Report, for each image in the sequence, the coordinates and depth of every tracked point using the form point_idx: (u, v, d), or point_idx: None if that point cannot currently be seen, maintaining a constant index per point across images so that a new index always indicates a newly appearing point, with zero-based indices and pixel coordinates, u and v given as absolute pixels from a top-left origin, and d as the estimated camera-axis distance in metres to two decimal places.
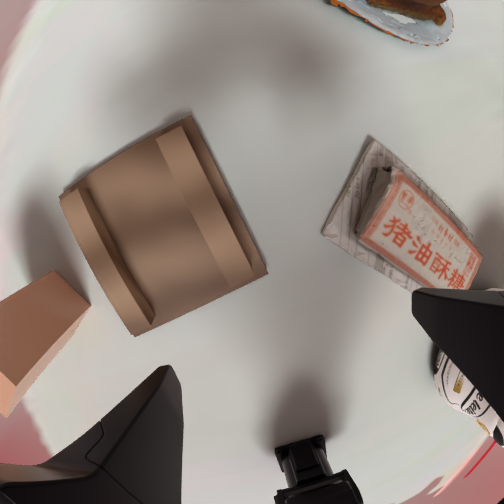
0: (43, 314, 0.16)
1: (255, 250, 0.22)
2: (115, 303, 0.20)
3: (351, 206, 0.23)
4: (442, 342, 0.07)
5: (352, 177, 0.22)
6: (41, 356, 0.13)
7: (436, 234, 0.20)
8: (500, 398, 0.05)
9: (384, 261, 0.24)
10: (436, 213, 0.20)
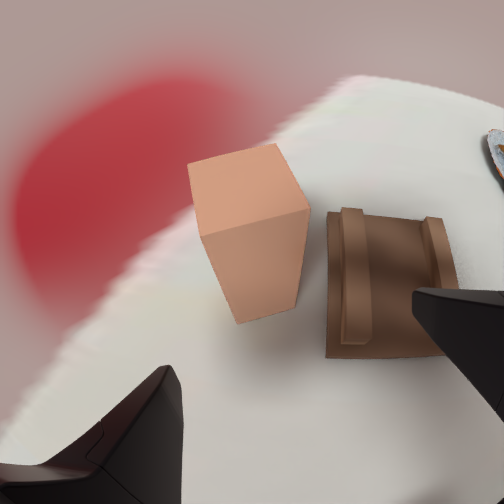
0: None
1: None
2: (350, 302, 0.20)
3: None
4: (442, 342, 0.07)
5: None
6: (303, 250, 0.15)
7: None
8: (500, 398, 0.05)
9: None
10: None
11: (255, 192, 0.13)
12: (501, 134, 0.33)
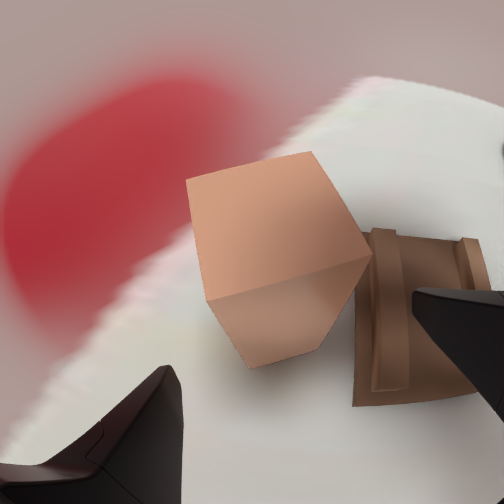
0: None
1: None
2: (386, 345, 0.15)
3: None
4: (442, 342, 0.07)
5: None
6: (345, 300, 0.11)
7: None
8: (500, 398, 0.05)
9: None
10: None
11: (290, 228, 0.09)
12: None
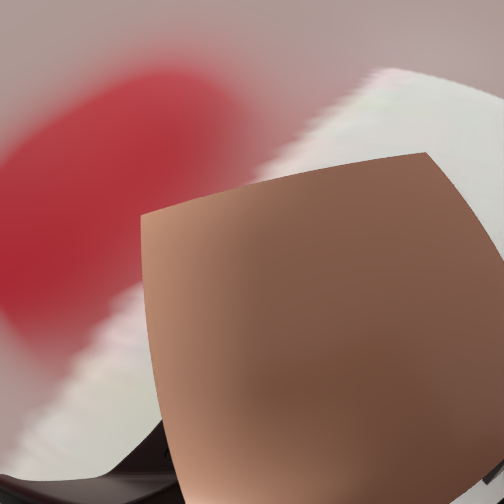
0: None
1: None
2: None
3: None
4: None
5: None
6: None
7: None
8: None
9: None
10: None
11: (438, 385, 0.02)
12: None
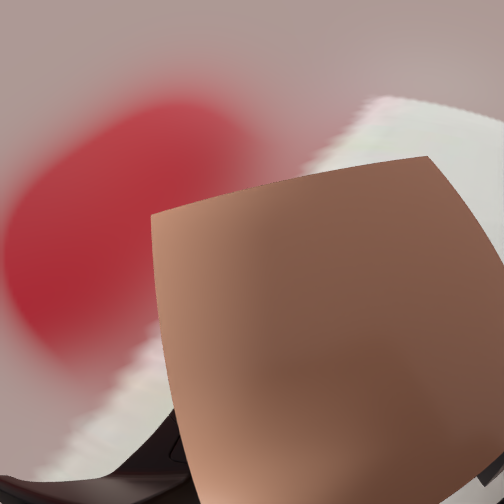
0: None
1: None
2: None
3: None
4: None
5: None
6: None
7: None
8: None
9: None
10: None
11: (440, 378, 0.02)
12: None
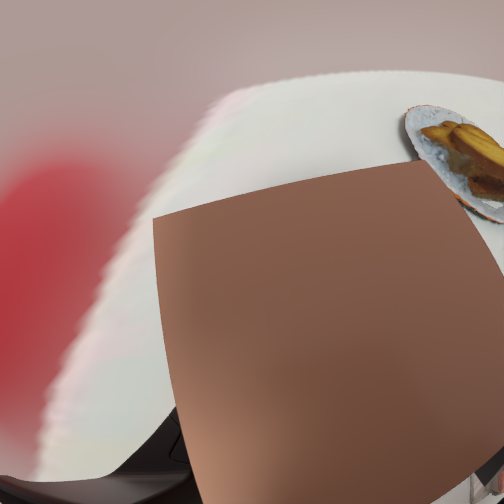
0: None
1: None
2: None
3: None
4: None
5: None
6: None
7: None
8: None
9: None
10: None
11: (434, 379, 0.02)
12: (421, 110, 0.35)
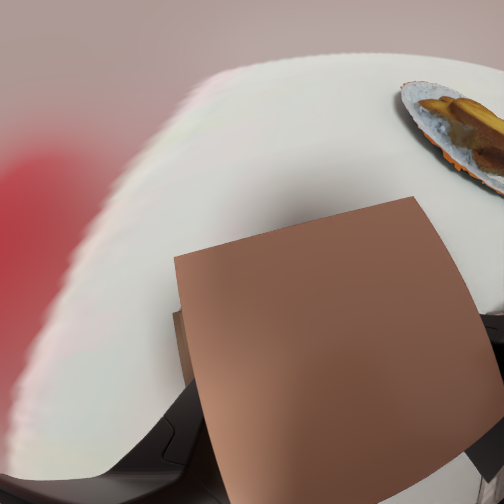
0: None
1: None
2: None
3: None
4: None
5: None
6: None
7: None
8: None
9: None
10: None
11: (405, 393, 0.03)
12: (417, 86, 0.32)
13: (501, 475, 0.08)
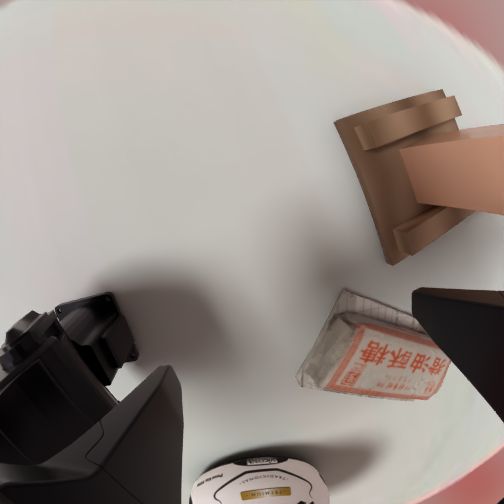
0: None
1: None
2: (394, 117, 0.17)
3: None
4: (442, 342, 0.07)
5: None
6: (499, 213, 0.12)
7: (406, 381, 0.22)
8: (500, 398, 0.05)
9: (418, 330, 0.25)
10: (404, 393, 0.22)
11: None
12: None
13: (371, 319, 0.23)
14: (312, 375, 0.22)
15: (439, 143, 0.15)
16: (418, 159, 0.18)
